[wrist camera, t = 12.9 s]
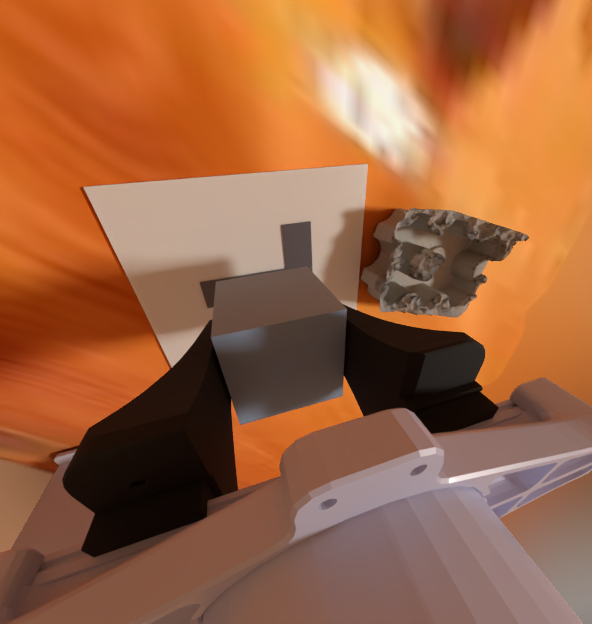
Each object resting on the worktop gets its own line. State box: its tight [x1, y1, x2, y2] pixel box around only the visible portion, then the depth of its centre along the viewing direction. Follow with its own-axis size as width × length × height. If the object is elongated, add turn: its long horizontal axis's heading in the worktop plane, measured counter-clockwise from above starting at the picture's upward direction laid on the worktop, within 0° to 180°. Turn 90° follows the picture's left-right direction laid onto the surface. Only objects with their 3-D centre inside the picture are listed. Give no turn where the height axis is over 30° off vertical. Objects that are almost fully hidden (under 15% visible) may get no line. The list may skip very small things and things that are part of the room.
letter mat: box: [83, 164, 368, 367], centre depth 17 cm, size 16×14×1 cm
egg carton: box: [361, 208, 529, 317], centre depth 18 cm, size 11×8×4 cm
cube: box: [211, 267, 347, 425], centre depth 12 cm, size 5×5×5 cm
